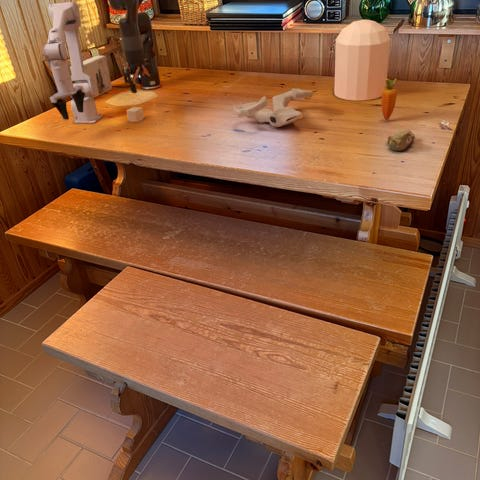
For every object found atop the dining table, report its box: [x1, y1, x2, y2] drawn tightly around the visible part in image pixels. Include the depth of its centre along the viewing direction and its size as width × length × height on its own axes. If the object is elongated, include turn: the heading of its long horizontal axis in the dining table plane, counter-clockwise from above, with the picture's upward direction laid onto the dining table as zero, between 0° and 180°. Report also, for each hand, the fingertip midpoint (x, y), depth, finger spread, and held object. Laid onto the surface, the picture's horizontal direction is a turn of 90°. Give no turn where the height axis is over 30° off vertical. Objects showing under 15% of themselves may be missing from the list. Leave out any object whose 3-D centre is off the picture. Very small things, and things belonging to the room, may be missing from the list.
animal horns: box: [231, 88, 314, 128], centre depth 171 cm, size 28×26×12 cm
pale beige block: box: [125, 106, 145, 123], centre depth 188 cm, size 5×5×4 cm
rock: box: [387, 129, 416, 152], centre depth 146 cm, size 11×6×10 cm
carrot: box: [380, 78, 398, 122], centre depth 161 cm, size 5×5×15 cm
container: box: [333, 19, 391, 102], centre depth 186 cm, size 21×21×28 cm
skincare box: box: [69, 54, 113, 99], centre depth 218 cm, size 21×6×16 cm, turn 158°
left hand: (73, 115), depth 173 cm, fingers open, 7 cm apart
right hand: (141, 89), depth 187 cm, fingers open, 8 cm apart
